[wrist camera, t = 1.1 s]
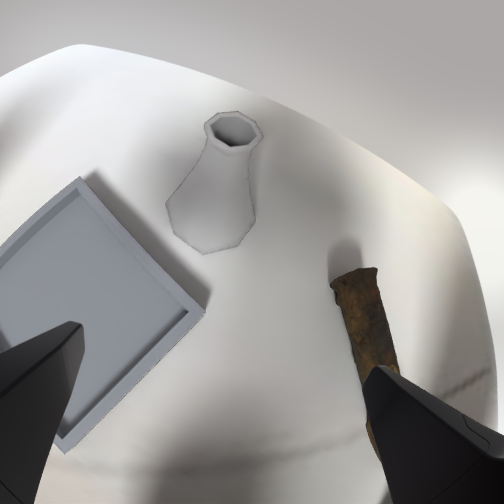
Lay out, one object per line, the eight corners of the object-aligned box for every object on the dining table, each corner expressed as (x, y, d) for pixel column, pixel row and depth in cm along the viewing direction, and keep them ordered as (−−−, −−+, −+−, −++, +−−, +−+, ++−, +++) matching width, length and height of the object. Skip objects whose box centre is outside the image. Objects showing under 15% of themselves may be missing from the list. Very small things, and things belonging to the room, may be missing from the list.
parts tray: (73, 447, 14) (64, 454, 13) (-29, 300, 16) (-41, 294, 14) (203, 316, 21) (206, 311, 19) (84, 189, 22) (79, 176, 20)
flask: (269, 226, 25) (319, 152, 16) (199, 271, 22) (219, 204, 13) (219, 167, 26) (244, 81, 17) (151, 202, 23) (146, 112, 14)
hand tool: (321, 282, 25) (349, 265, 21) (357, 276, 26) (387, 259, 22) (358, 478, 19) (389, 491, 15) (391, 460, 20) (424, 468, 16)
